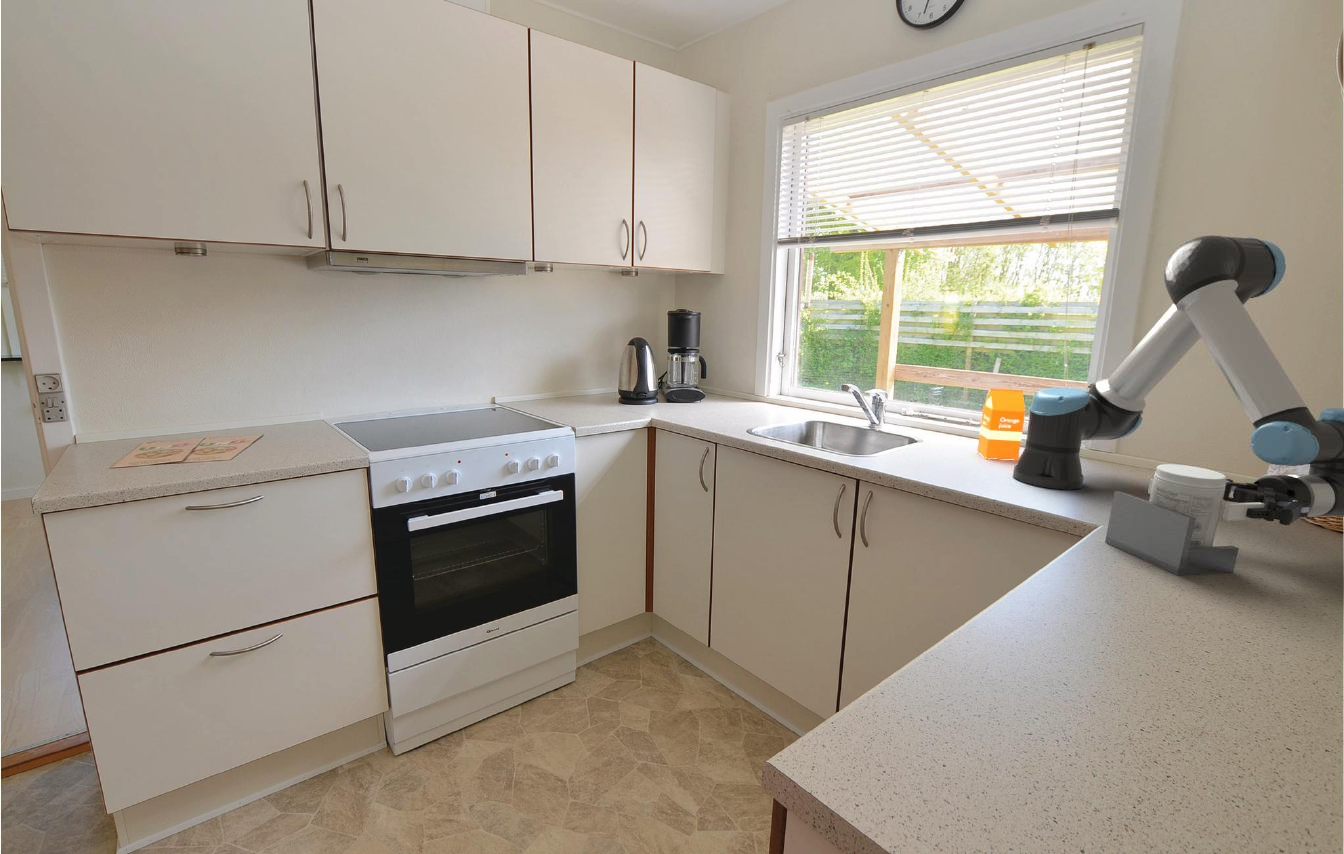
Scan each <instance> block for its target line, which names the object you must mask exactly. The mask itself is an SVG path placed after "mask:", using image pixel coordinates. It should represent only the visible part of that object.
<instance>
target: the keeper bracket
mask: <svg viewBox="0 0 1344 854" xmlns="http://www.w3.org/2000/svg"><path fill="white" fill-rule="evenodd" d="M1195 520H1196V518H1195V517H1192V516H1189V515H1186V514H1183V513H1181V512H1178V511H1175V510H1172V509H1169V508H1166V507H1164V506H1161V505H1158V504H1155V503H1152V502H1149V500H1146V499H1143V498H1141V497H1137V496H1135V495H1132V494H1130V493H1127V492H1124V491H1120V490H1119V491H1115V490H1114V493H1113V498H1112V504H1111V507H1110V514H1109V519H1108V523H1107V524H1108V526H1107V530H1106V536H1105V540H1104V542H1105V543H1106V544H1107V545H1110V546H1112V547H1115V548H1117V549H1119V550H1121V551H1124V552H1125V553H1127V554H1130V555H1132V556H1134V557H1136V558H1138V559H1141V560H1142V561H1145V562H1147V563H1149V564H1151V565H1153V566H1155V567H1158V568H1161V569H1162V570H1165V571H1166V572H1169V573H1171V574H1173V575H1175V576H1191V575H1192V576H1193V575H1194V576H1195V575H1211V574H1213V575H1214V574H1233V573H1234V571H1235V566H1236V563H1237V560H1238V559H1237V558H1238V555H1239V550H1240V547H1237V546H1234V545H1223V546H1222V545H1221V546H1220V545H1217V546H1212V547H1191V548H1189V547H1190V543H1191V538H1192V534H1193V529H1194V525H1195Z"/></svg>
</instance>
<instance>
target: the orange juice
mask: <svg viewBox="0 0 1344 854" xmlns="http://www.w3.org/2000/svg"><path fill="white" fill-rule="evenodd" d="M1025 416H1026V407H1025V401H1024V391H1023V390H1020V389H1017V390H1016V389H1001V388H999V389H997V388H990V390H989V393H988V395H987V397H986V399H985V402H984V404H983V409H982V415H981V423H980V429H979V435H978V436H979V438H978V445H977V451H978V452H979V453H981V454H982V455H983V456H984V457H987V458H997V459H1014V460H1018V461H1019V458H1020V457H1019V456H1020V455H1019V454H1020V450H1021V443H1022V438H1023V429H1024V423H1025Z"/></svg>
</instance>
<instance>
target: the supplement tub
mask: <svg viewBox="0 0 1344 854" xmlns="http://www.w3.org/2000/svg"><path fill="white" fill-rule="evenodd" d="M1152 479H1153V484H1152V490H1151V494H1149V495H1150V496H1149V500H1148V501H1149V502H1152V503H1155V504H1158V505H1161V506H1164V507H1166V508H1169V509H1172V510H1175V511H1178V512H1181V513H1183V514H1186V515H1189V516H1192V517H1195V518H1196V520H1195V525H1194V529H1193V534H1192V538H1191V543H1190V547H1189V548H1191V547H1213V545H1214V540H1215V535H1216V532H1217V527H1218V522H1219V518H1220V514H1221V511H1222V510H1221V509H1222V506H1223V505H1222V504H1223V501H1224V500H1223V496H1224V492H1225V486H1226V484H1225V482H1226V479H1227V476H1226V475H1225V474H1223V473H1221V472H1218V471H1216V470H1215V471H1214V470H1211V469H1208V468H1205V467H1199V466H1191V465H1185V464H1174V463H1169V464H1168V463H1167V464H1166V463H1164V464H1158V465H1157V466H1156V468H1155V473H1154V476H1153V478H1152Z"/></svg>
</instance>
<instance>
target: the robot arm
mask: <svg viewBox="0 0 1344 854" xmlns="http://www.w3.org/2000/svg"><path fill="white" fill-rule="evenodd" d="M1286 266H1287V265H1286V257H1285V254H1284V253H1283V251H1282V250H1281V249H1280V247H1279V246H1277V244H1275V243H1273V242H1271V241H1268V240H1262V239H1259V238H1257V237H1233V236H1232V237H1231V236H1223V235H1204V236H1199V237H1195V238H1194V237H1193V238H1192V239H1190V240H1188V241H1186V242H1184V243H1182V244H1181V245H1180V246H1179V247H1177V248H1176V249H1175V250H1174V251H1173V253H1171V255H1170V256H1169V257H1168V259H1167V261H1166V264H1165V266H1164V271H1163V277H1164V279H1163V280H1164V284H1165V288H1166V290H1167V292H1168V296H1169V297H1170V299H1171V301H1172V304H1171V305H1170V307H1169V308H1168V309H1167V310H1166V311H1165V313H1164V314H1163V315H1162V316H1160V319H1158V321H1157V322H1156V323H1155V324H1154V325H1153V326H1152V327H1151V329H1150V330H1149V331H1147V334H1145V336H1144V337H1143V338H1141V340H1140V341H1139V342H1138V344H1136V346H1135V347H1134V349H1133V350H1131V352H1130V353H1129V355H1128V356H1127V357H1126V358H1125V359H1124V360H1123V361H1122V362H1121V363H1120V364H1119V366H1117V368H1116V369H1115V370H1114V372H1113V373H1112V374H1111V375H1110V376H1109V378H1100V379H1098V380H1097V381H1096V382H1095V383H1094V384H1093V386H1092V387H1091V388H1090V389H1089V391H1087V390H1085V389H1080V388H1074V387H1073V388H1072V387H1061V388H1060V387H1051V388H1044V389H1041V390H1038V391H1036V393H1035V392H1034V394H1033V397H1032V401H1031V405H1030V407H1029V408H1030V409H1029V410H1030V412H1029V418H1028V424H1027V425H1028V426H1027V431H1026V432H1027V433H1026V441H1025V444H1024V445H1025V446H1024V448H1023V452H1022V453H1021V455H1020V457H1019V458H1018V461H1017V464H1015V465H1014V467H1013V473H1012V477H1013V476H1014V477H1015V478H1017V479H1018V481H1019V480H1021V481H1020V482H1022V483H1025V482H1026V483H1025V484H1028V483H1030V484H1029V485H1032V484H1033V485H1032V486H1036V485H1037V486H1036V487H1042V488H1046V487H1047V488H1048V489H1054V490H1055V489H1056V490H1078V489H1081V488H1083V486H1084V480H1085V478H1084V475H1083V471H1082V464H1081V458H1080V452H1081V447H1082V441H1113V440H1116V439H1121V438H1126V437H1128V436H1129V435H1132V434H1133V433H1135V432H1136V431H1137V429H1138V428H1139V427H1140V425H1141V423H1142V422H1143V417H1142V415H1143V414H1144V409H1145V408H1146V406H1147V404H1146V401H1145V398H1146V397H1147V396H1148V395H1149V394H1150V393H1151V392H1152V391H1153V390H1154V389H1155V387H1156V386H1157V385H1158V384H1159V383H1160V382H1161V381H1162V380H1163V378H1165V376H1166V375H1167V374H1169V372H1170V371H1171V370H1172V369H1173V368H1175V366H1176V365H1177V364H1178V363H1179V362H1180V361H1181V360H1182V358H1184V356H1186V354H1188V352H1189V351H1190V350H1191V349H1192V348H1193V347H1194V345H1196V343H1197V342H1198V341H1199V340H1200V339H1202V341H1203V342H1204V344H1205V346H1206V347H1207V350H1208V351H1209V352H1210V354H1211V356H1212V357H1213V359H1214V360H1215V363H1216V364H1217V366H1218V368H1219V369H1220V372H1221V373H1222V374H1223V376H1224V378H1225V379H1226V381H1227V384H1228V385H1229V387H1230V388H1231V389H1232V392H1233V393H1234V395H1235V396H1236V398H1237V400H1238V402H1239V404H1240V405H1241V408H1242V409H1243V411H1244V412H1245V414H1246V415H1247V417H1248V419H1249V420H1250V422H1251V423H1252V426H1253V428H1254V429H1255V430H1254V431H1253V433H1252V434H1251V437H1250V448H1251V450H1252V453H1253V454H1254V455H1255V456H1256V457H1257V458H1258V459H1259V460H1261V461H1263V462H1265V463H1267V464H1271V465H1274V466H1275V465H1276V466H1285V467H1287V466H1289V467H1296V466H1304V465H1309V469H1308V474H1286V475H1285V474H1283V475H1282V474H1281V475H1280V474H1279V475H1278V474H1277V475H1265V476H1262V477H1259V478H1257V480H1255V481H1254V482H1244V483H1242V482H1234V479H1231V478H1226V482H1225V484H1226V486H1225V492H1224V496H1223V501H1225V502H1226V503H1225V505H1224V510H1223V515H1222V520H1225V521H1253V520H1254V521H1255V520H1256V521H1257V520H1258V521H1259V520H1262V519H1263V520H1265V521H1267V522H1274V521H1275V520H1276V521H1279V522H1278V523H1279V524H1280V525H1283V526H1290V525H1291V524H1293V523H1294V522H1296V521H1297V520H1300V519H1302V518H1305V517H1342V518H1343V517H1344V408H1342V407H1327V408H1325V409H1323V410H1322V411H1321V412H1320V415H1319V416H1318V417H1319V418H1318V419H1317V420H1316V418H1315V417H1314V415H1313V414H1312V412H1311V410H1310V409H1309V408H1308V406H1307V405H1306V402H1304V400H1303V398H1302V397H1301V395H1300V393H1299V392H1298V390H1297V388H1296V387H1295V385H1294V383H1293V382H1292V381H1291V379H1290V377H1288V374H1287V372H1286V371H1285V370H1284V368H1283V366H1282V365H1281V363H1280V362H1279V359H1277V357H1276V355H1275V353H1274V352H1273V351H1272V348H1271V347H1270V346H1269V344H1268V343H1267V341H1266V339H1265V338H1264V336H1263V334H1262V333H1261V331H1260V330H1259V328H1258V326H1257V325H1256V324H1255V322H1254V320H1253V319H1252V317H1251V316H1250V314H1249V313H1248V311H1247V309H1246V308H1245V306H1244V305H1245V304H1246V303H1247V302H1248V301H1249V300H1251V299H1254V298H1259V297H1261V296H1264V295H1266V294H1268V293H1270V292H1272V291H1273V290H1274V289H1275V288H1276V287H1277V286H1278V285H1280V282H1281V281H1282V280H1283V278H1284V276H1285V274H1286V269H1287V267H1286ZM1014 477H1013V478H1014ZM1015 478H1014V479H1015ZM1017 479H1016V480H1017ZM1153 479H1154V478H1151V479H1150V480H1149V485H1148V490H1147V494H1149V495H1151V490H1152V484H1153ZM1231 492H1233V494H1232V497H1230V494H1231ZM1227 502H1229V503H1227Z"/></svg>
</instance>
